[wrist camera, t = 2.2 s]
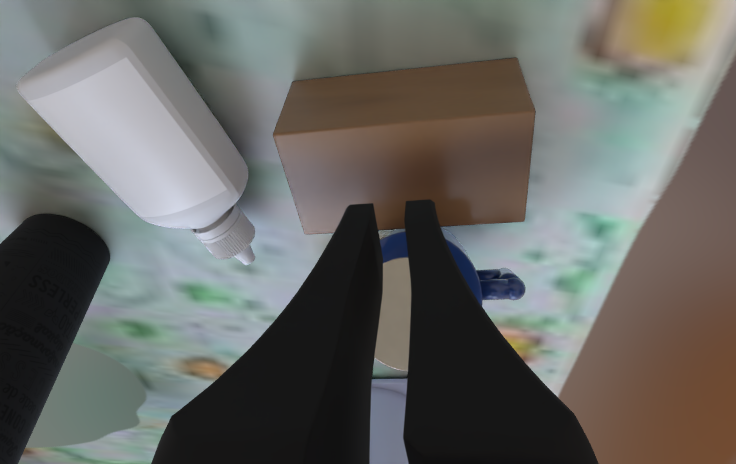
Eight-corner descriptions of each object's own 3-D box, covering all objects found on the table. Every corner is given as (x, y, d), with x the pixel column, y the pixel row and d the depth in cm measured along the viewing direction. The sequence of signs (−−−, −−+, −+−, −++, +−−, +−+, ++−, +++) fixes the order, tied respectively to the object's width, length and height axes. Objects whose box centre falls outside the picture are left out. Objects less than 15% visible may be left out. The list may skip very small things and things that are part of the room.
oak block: (510, 162, 22) (525, 222, 20) (317, 177, 24) (304, 235, 21) (517, 56, 19) (536, 110, 16) (291, 80, 20) (271, 134, 17)
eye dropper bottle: (-7, 106, 16) (207, 315, 24) (141, 20, 17) (306, 253, 24) (17, 72, 20) (198, 264, 27) (141, 1, 20) (285, 211, 27)
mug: (500, 271, 27) (532, 455, 20) (376, 276, 28) (364, 453, 21) (509, 122, 21) (560, 313, 14) (349, 136, 22) (318, 321, 15)
